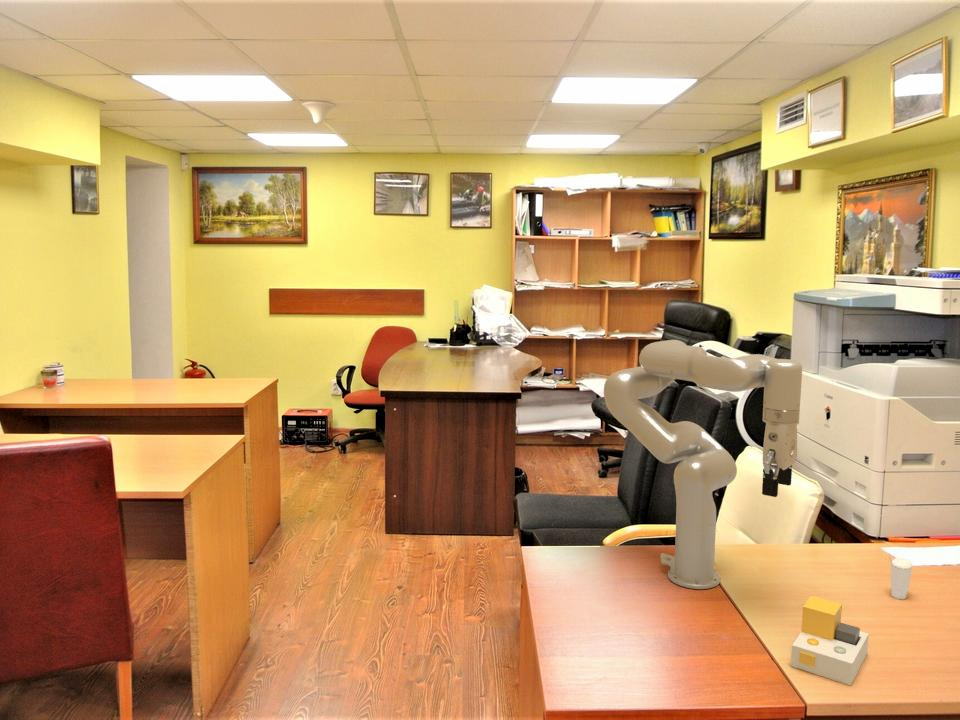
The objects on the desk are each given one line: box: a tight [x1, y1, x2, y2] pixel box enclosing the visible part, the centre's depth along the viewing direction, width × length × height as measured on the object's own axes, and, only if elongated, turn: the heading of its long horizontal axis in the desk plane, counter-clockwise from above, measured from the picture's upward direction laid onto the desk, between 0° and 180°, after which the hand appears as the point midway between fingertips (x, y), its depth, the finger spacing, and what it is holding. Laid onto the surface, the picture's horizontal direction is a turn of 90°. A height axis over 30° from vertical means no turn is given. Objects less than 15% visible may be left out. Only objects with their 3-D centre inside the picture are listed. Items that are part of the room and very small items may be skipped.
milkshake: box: [889, 556, 913, 600], centre depth 180 cm, size 5×5×10 cm
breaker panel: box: [790, 630, 870, 687], centre depth 153 cm, size 11×14×5 cm
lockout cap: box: [800, 595, 843, 641], centre depth 156 cm, size 6×6×6 cm
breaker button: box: [835, 622, 861, 646], centre depth 153 cm, size 4×4×4 cm
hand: (776, 489), depth 171 cm, fingers open, 9 cm apart
